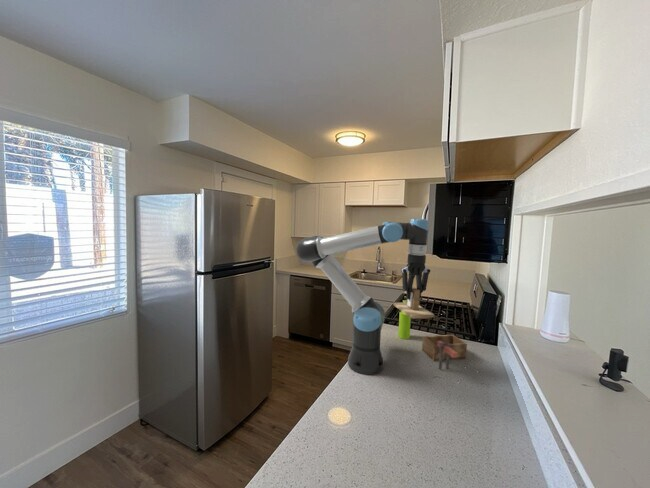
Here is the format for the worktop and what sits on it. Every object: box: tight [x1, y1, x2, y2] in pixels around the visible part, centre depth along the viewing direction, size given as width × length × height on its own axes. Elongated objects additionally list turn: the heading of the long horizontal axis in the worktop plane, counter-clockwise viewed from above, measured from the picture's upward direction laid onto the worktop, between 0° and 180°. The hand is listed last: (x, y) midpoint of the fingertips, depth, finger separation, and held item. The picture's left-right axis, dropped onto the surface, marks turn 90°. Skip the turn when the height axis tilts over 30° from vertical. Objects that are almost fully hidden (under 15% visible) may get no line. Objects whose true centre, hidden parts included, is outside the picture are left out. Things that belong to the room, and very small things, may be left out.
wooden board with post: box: [392, 286, 435, 320], centre depth 122 cm, size 17×11×11 cm, turn 12°
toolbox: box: [421, 334, 468, 371], centre depth 124 cm, size 18×17×12 cm
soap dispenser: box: [397, 299, 412, 340], centre depth 145 cm, size 6×7×20 cm
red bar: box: [437, 341, 458, 358], centre depth 114 cm, size 2×11×2 cm, turn 10°
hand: (412, 305), depth 122 cm, fingers closed on wooden board with post, 3 cm apart
